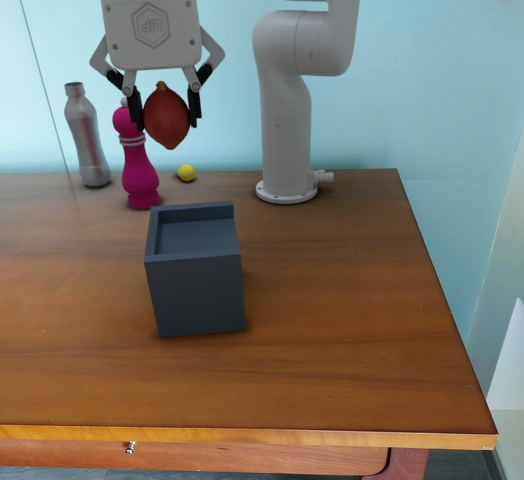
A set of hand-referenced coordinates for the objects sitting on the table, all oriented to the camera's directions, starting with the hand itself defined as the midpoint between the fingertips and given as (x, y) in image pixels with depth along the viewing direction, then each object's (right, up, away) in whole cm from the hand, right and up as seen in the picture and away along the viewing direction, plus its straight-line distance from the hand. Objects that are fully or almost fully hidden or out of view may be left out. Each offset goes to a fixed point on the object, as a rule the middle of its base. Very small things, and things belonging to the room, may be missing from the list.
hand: (167, 125), depth 64 cm
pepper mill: (-12, +2, +42) cm, 44 cm away
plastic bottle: (-24, +9, +51) cm, 57 cm away
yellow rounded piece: (-5, +10, +51) cm, 52 cm away
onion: (0, -2, +2) cm, 3 cm away
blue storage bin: (+3, -20, +15) cm, 25 cm away
